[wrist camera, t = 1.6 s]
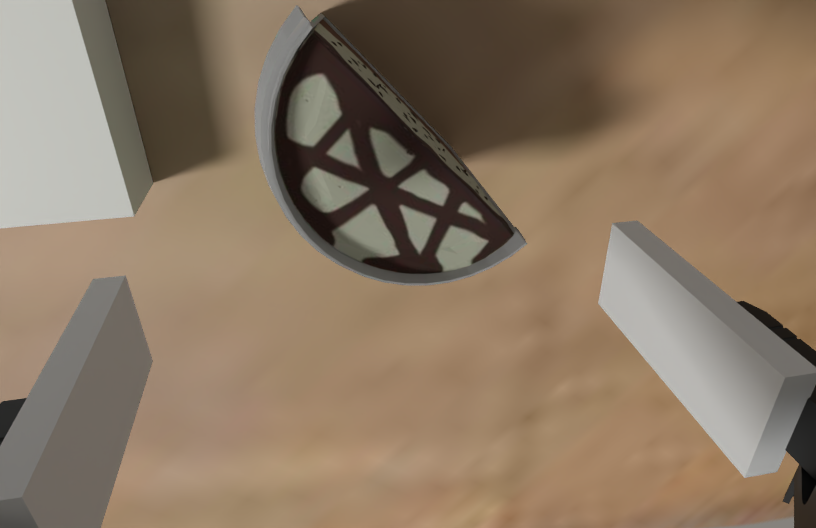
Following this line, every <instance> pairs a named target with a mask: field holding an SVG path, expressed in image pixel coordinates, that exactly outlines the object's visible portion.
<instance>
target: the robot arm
mask: <svg viewBox="0 0 816 528" xmlns="http://www.w3.org/2000/svg"><path fill="white" fill-rule="evenodd" d="M598 304H599V305H600V306H601V307H602V309H603V310H604V311H605V312H606V313H607V315H608V316H609V317H610V318H611V319H612V320H613V322H614V323H615V324H616V325H617V326H618V328H619V329H620V330H621V331H622V332H623V334H624V335H625V336H626V337H627V338H628V340H629V341H630V342H631V343H632V344H633V345H634V347H635V348H636V349H637V350H638V351H639V353H640V354H641V355H642V356H643V357H644V359H645V360H646V361H647V362H648V363H649V365H650V366H651V367H652V368H653V369H654V370H655V372H656V373H657V374H658V375H659V376H660V378H661V379H662V380H663V381H664V382H665V384H666V385H667V386H668V387H669V388H670V390H671V391H672V392H673V393H674V394H675V395H676V397H677V398H678V399H679V400H680V401H681V403H682V404H683V405H684V406H685V407H686V409H687V410H688V411H689V412H690V413H691V415H692V416H693V417H694V418H695V419H696V420H697V422H698V423H699V424H700V425H701V426H702V428H703V429H704V430H705V431H706V432H707V434H708V435H709V436H710V437H711V438H712V440H713V441H714V442H715V443H716V444H717V445H718V447H719V448H720V449H721V450H722V451H723V453H724V454H725V455H726V456H727V457H728V459H729V460H730V461H731V462H732V463H733V465H734V466H735V467H736V468H737V469H738V470H739V472H740V473H741V474H742V475H743V476H744V478H746V477H752V476H757V475H763V474H768V473H774V472H777V471H778V469H779V467H780V464H781V462H782V460H783V458H784V455H785V453H786V451H787V452H788V453H789V454H790V455H791V456H792V457H793V458H794V459H795V460H796V461H797V462H798V463H799V466H798V468H797V470H796V473H795V475H794V477H793V479H792V481H791V483H790V485H789V487H788V490H787V492H786V494H785V497H784V499H783V502H786V503H788V504H789V502H790V500H791V498H792V496H794V528H816V351H815V350H814V349H812V348H811V347H810V346H808V345H807V344H806V343H805V342H803V341H802V340H801V339H797V336H796V335H795V334H793V333H792V332H791V331H790V330H788V329H787V328H783V325H782V324H781V323H779V322H778V321H777V320H776V319H774V318H773V317H772V316H771V315H769V314H768V313H767V312H765V311H763V310H761V309H759V308H757V307H755V306H753V305H751V304H749V303H747V302H744V301H740V302H736V301H735V300H733V299H732V298H731V297H730V296H728V295H727V294H726V293H725V292H724V291H722V290H721V289H720V288H719V287H718V286H716V285H715V284H714V283H713V282H711V281H710V280H709V279H708V278H707V277H705V276H704V275H703V274H702V273H700V272H699V271H698V270H697V269H696V268H694V267H693V266H692V265H691V264H690V263H688V262H687V261H686V260H685V259H683V258H682V257H681V256H680V255H679V254H677V253H676V252H675V251H674V250H672V249H671V248H670V247H669V246H668V245H666V244H665V243H664V242H663V241H662V240H660V239H659V238H658V237H657V236H655V235H654V234H653V233H652V232H651V231H649V230H648V229H647V228H646V227H644V226H643V225H642V224H641V223H640V222H638V221H629V222H619V223H612V228H611V234H610V240H609V245H608V251H607V257H606V262H605V268H604V274H603V280H602V285H601V291H600V297H599V303H598ZM152 362H153V360H152V357H151V354H150V351H149V348H148V345H147V341H146V338H145V335H144V332H143V329H142V326H141V323H140V319H139V316H138V313H137V310H136V307H135V304H134V300H133V297H132V294H131V291H130V288H129V285H128V282H127V278H126V276H117V277H108V278H99V279H93V280H92V282H91V284H90V286H89V287H88V289H87V291H86V293H85V295H84V296H83V298H82V300H81V302H80V304H79V305H78V307H77V309H76V311H75V313H74V314H73V316H72V318H71V320H70V322H69V323H68V325H67V327H66V329H65V331H64V332H63V334H62V336H61V338H60V340H59V341H58V343H57V345H56V347H55V348H54V350H53V352H52V354H51V356H50V357H49V359H48V361H47V363H46V365H45V366H44V368H43V370H42V372H41V374H40V375H39V377H38V379H37V381H36V383H35V384H34V386H33V388H32V390H31V392H30V393H29V395H28V397H27V398H24V399H17V400H9V401H3V402H2V403H0V528H101V525H102V522H103V519H104V515H105V512H106V509H107V506H108V503H109V499H110V496H111V493H112V490H113V487H114V483H115V480H116V477H117V474H118V471H119V467H120V464H121V461H122V458H123V455H124V451H125V448H126V445H127V442H128V439H129V435H130V432H131V429H132V426H133V423H134V419H135V416H136V413H137V410H138V407H139V403H140V400H141V397H142V394H143V391H144V387H145V384H146V381H147V378H148V375H149V371H150V368H151V365H152Z"/></svg>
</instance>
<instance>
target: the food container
mask: <svg viewBox="0 0 816 528" xmlns="http://www.w3.org/2000/svg"><path fill="white" fill-rule="evenodd" d="M255 137H256V143H257V148H258V153H259V158H260V163H261V165H262V168H263V171H264V174H265V176H266V179H267V182H268V185H269V187H270V189H271V190H272V192H273V194H274V196H275V198H276V200H277V201H278V203H279V205H280V207H281V209H282V210H283V212H284V214H285V216H286V217H287V219H288V220H289V221H290V222H291V224H292V225H293V226H294V228H295V229H296V230H297V231H298V233H299V234H300V235H301V236H302V237H303V238H304V239H305V240H306V241H307V242H308V243H309V244H311V245H312V246H313V247H314V248H315V249H316V250H317V251H318V252H320V253H321V254H323V255H324V256H326V257H327V258H329V259H330V260H332V261H333V262H335V263H336V264H338V265H340V266H342V267H344V268H346V269H348V270H351V271H353V272H355V273H357V274H359V275H362V276H364V277H367V278H371V279H374V280H378V281H381V282H385V283H392V284H400V285H434V284H441V283H448V282H453V281H456V280H460V279H463V278H467V277H471V276H473V275H475V274H478V273H480V272H483V271H485V270H487V269H490V268H492V267H494V266H495V265H497V264H499V263H500V262H502V261H504V260H506V259H507V258H509V257H511V256H512V255H513V254H515V253H516V252H517V251H519V250H520V249H521V248H522V247H524V246H525V245H526V244H527V243H526V241H525V239H524V237H523V236H522V234H521V233H520V232H519V230H518V229H517V228H516V227H514V226H513V225H512V223H511V222H510V221H509V220H508V218H507V217H506V216H505V215H504V213H503V212H502V211H501V209H500V208H499V207H498V206H497V204H496V203H495V202H494V201H493V199H492V198H491V197H490V195H489V194H488V193H487V192H486V190H485V189H484V188H483V187H482V185H481V184H480V183H479V181H478V180H477V179H476V178H475V176H474V175H473V174H472V173H471V171H470V170H469V169H468V168H467V166H466V165H465V164H464V162H463V161H462V160H461V159H460V157H459V156H458V155H457V154H456V152H455V151H454V150H453V148H452V147H451V146H450V145H449V144H448V143H447V142H446V141H445V140H444V139H443V138H442V137H441V136H440V135H439V134H438V133H437V132H436V131H435V130H434V129H433V128H432V127H431V126H430V125H429V123H428V122H427V121H426V120H425V119H424V118H423V117H422V116H421V115H420V114H419V113H418V112H417V111H416V110H415V109H414V108H413V107H412V106H411V105H410V104H409V103H408V102H407V101H406V100H405V99H404V98H403V97H402V96H401V95H400V94H399V92H398V91H397V90H396V89H395V88H394V87H393V86H392V85H391V84H390V83H389V82H388V81H387V80H386V79H385V78H384V77H383V76H382V75H381V74H380V73H379V72H378V71H377V70H376V69H375V68H374V67H373V66H372V65H371V64H370V63H369V61H368V60H367V59H366V58H365V57H364V56H363V55H362V54H361V53H360V52H359V51H358V50H357V49H356V48H355V47H354V46H353V45H352V44H351V43H350V42H349V41H348V40H347V39H346V38H345V37H344V36H343V35H342V34H341V33H340V32H339V30H338V29H337V28H336V27H335V26H334V25H333V24H332V23H331V22H330V21H329V20H328V19H327V18H326V17H325V16H324V15H323V14H322V13H320V14H319V15H318V16H317V17H316V18H314V19H313V20H312V21H311V22H310V21H309V20H308V19H307V18H306V16H305V15H304V13H303V12H302V10H301V8H299V7H298V6H297V5H296V7H295V8H294V10H293V11H292V12H291V14H290V15H289V16H288V18H287V19H286V21H285V22H284V23H283V25H282V26H281V28H280V29H279V31H278V33H277V35H276V37H275V39H274V41H273V43H272V45H271V47H270V49H269V51H268V53H267V56H266V59H265V62H264V66H263V69H262V72H261V75H260V78H259V82H258V89H257V96H256V103H255Z"/></svg>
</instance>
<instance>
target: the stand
mask: <svg viewBox="0 0 816 528" xmlns="http://www.w3.org/2000/svg"><path fill="white" fill-rule="evenodd" d="M152 184H153V180H152V176H151V173H150V169H149V165H148V161H147V157H146V154H145V150H144V146H143V142H142V138H141V134H140V131H139V127H138V123H137V119H136V115H135V112H134V108H133V104H132V100H131V96H130V93H129V89H128V85H127V81H126V77H125V73H124V70H123V66H122V62H121V58H120V54H119V51H118V47H117V43H116V39H115V35H114V32H113V28H112V24H111V20H110V16H109V13H108V9H107V5H106V1H105V0H0V228H9V227H21V226H32V225H43V224H54V223H65V222H76V221H88V220H99V219H110V218H121V217H132V216H135V214H136V212H137V211H138V209H139V207H140V205H141V204H142V202H143V200H144V198H145V197H146V195H147V193H148V191H149V190H150V188H151V186H152Z"/></svg>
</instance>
